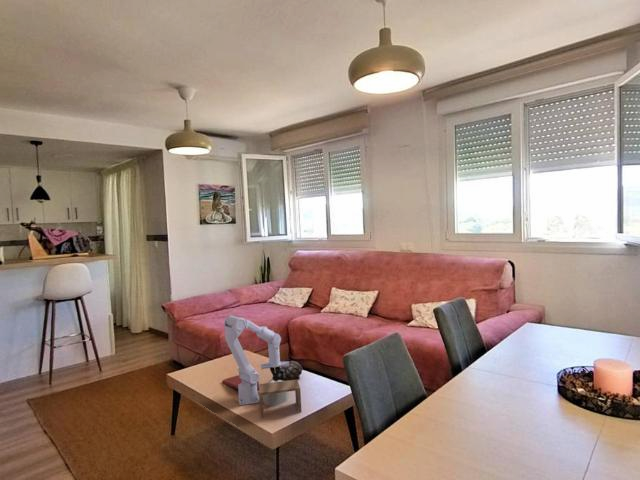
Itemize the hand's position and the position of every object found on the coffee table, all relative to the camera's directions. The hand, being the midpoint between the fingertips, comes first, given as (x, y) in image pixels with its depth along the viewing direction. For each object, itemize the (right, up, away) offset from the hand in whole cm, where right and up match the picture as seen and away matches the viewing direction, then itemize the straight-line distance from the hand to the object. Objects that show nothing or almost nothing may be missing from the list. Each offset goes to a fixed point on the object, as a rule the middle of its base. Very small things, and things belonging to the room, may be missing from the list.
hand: (275, 380), depth 205 cm
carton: (-20, -6, +8) cm, 22 cm away
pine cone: (+6, -4, +11) cm, 14 cm away
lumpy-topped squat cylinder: (+2, -6, -11) cm, 12 cm away
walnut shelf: (+5, -6, -22) cm, 23 cm away
